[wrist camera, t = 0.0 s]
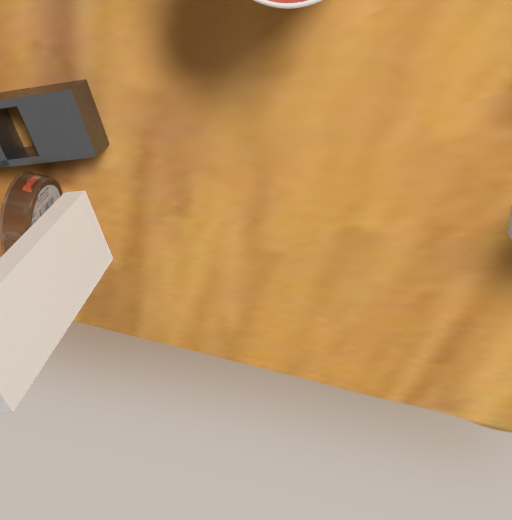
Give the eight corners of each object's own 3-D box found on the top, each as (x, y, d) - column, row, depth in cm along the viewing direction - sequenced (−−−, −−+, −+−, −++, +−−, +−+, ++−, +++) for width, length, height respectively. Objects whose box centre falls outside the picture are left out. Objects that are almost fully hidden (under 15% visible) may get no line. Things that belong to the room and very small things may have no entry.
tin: (36, 156, 47) (-14, 196, 41) (67, 164, 47) (22, 205, 41) (47, 272, 56) (8, 321, 50) (73, 279, 56) (37, 328, 50)
